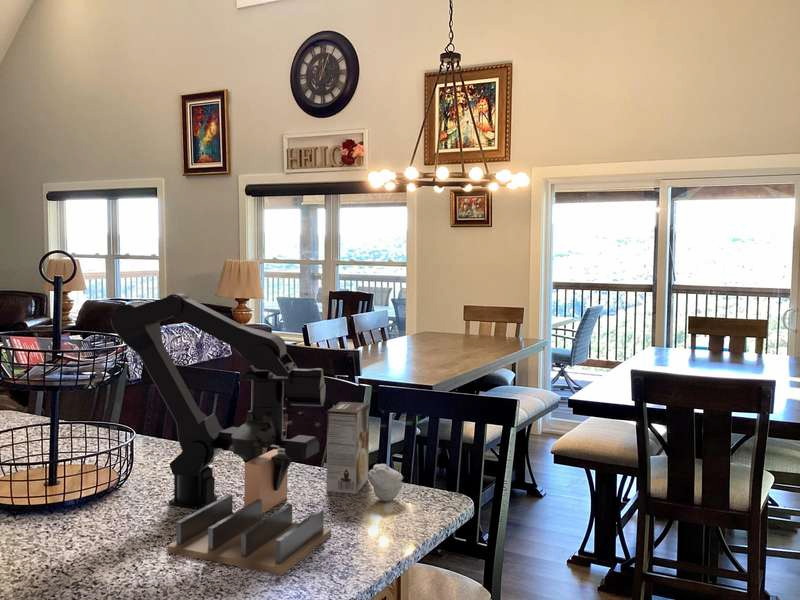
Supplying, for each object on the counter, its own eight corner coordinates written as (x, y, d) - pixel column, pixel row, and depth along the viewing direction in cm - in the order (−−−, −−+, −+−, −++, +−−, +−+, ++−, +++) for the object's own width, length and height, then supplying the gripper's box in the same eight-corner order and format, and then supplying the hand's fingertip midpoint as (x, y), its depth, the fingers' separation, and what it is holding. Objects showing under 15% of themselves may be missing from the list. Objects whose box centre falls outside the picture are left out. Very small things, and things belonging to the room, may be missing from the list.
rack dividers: (176, 544, 111) (176, 522, 111) (228, 514, 124) (228, 494, 124) (280, 564, 105) (280, 540, 104) (323, 530, 118) (323, 509, 117)
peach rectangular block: (244, 513, 128) (244, 463, 127) (273, 495, 137) (273, 449, 136) (258, 515, 127) (259, 465, 126) (287, 497, 136) (287, 451, 135)
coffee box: (338, 477, 149) (340, 400, 148) (368, 480, 147) (370, 402, 146) (325, 491, 140) (326, 410, 139) (357, 494, 138) (358, 412, 137)
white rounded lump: (362, 497, 137) (363, 461, 137) (397, 493, 139) (398, 458, 139) (372, 508, 131) (372, 470, 131) (407, 504, 134) (408, 467, 133)
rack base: (167, 552, 110) (167, 545, 110) (227, 517, 125) (227, 511, 125) (282, 575, 103) (282, 568, 103) (331, 535, 118) (331, 529, 118)
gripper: (196, 408, 126) (196, 495, 127) (291, 418, 120) (289, 510, 121) (232, 396, 137) (232, 477, 138) (321, 406, 130) (319, 490, 131)
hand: (266, 488), depth 132 cm, fingers open, 4 cm apart
